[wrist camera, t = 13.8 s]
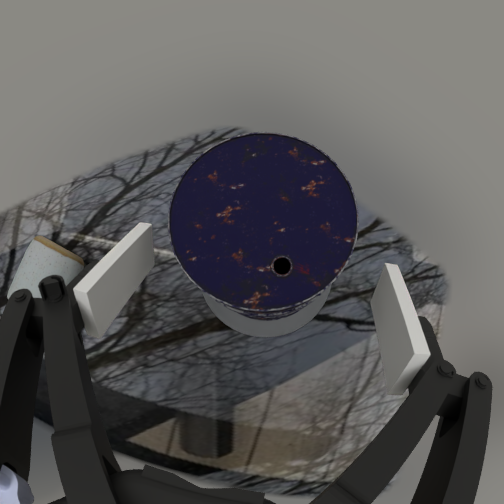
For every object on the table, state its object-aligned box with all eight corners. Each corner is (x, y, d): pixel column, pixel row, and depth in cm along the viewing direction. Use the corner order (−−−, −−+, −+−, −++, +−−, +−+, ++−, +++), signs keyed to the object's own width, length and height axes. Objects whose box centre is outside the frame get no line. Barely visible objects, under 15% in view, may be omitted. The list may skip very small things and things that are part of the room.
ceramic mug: (99, 264, 32) (60, 245, 25) (75, 329, 30) (32, 324, 23) (44, 237, 34) (6, 217, 27) (23, 294, 32) (-18, 283, 25)
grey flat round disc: (184, 241, 32) (180, 237, 31) (295, 193, 33) (296, 187, 32) (232, 357, 29) (230, 359, 28) (351, 302, 30) (355, 301, 28)
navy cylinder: (203, 238, 31) (150, 162, 16) (297, 208, 31) (315, 113, 17) (233, 335, 28) (195, 341, 14) (332, 302, 28) (390, 274, 14)
